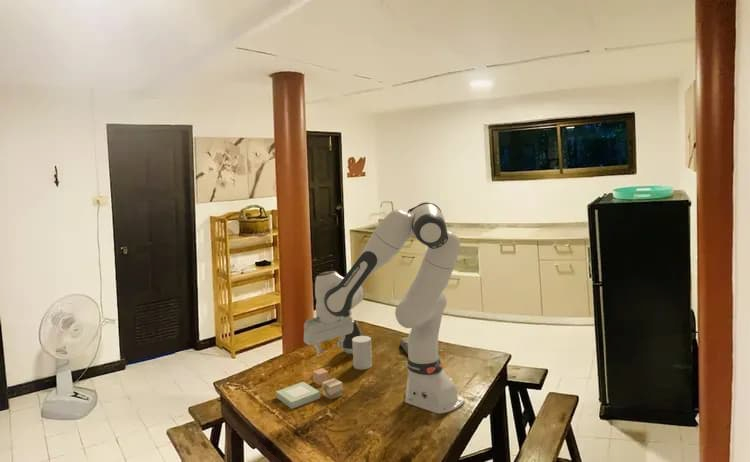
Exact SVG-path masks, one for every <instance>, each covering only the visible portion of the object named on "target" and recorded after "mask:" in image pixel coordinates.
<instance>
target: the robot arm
mask: <svg viewBox="0 0 750 462" xmlns="http://www.w3.org/2000/svg"><path fill="white" fill-rule="evenodd" d="M447 229H448V228H447V225H446V219H445V217H444V215H443V212H442V210H441V208H440V207H439V206H438V205H436V204H435V203H433V202H430V201H426V202H421V203H419V204H417V205H416V206H414V207H412V208H410V209H408V211H407V212H405V211H404V210H401V209H394V210H391V211H390V212H389V213H387V215H386V216H385V217H384V218H383V220H382V221H381V222H380V223H379V224H378V225H377V226H376V228H375V229H374V231H373V232H372V234H371V236H370V237H369V238H368V241H367V242H366V244H365V246H364V247H363V249H362V251H361V253H360V255H359V256H358V258H356V259H357V260H356V261H355V262H354V264H353V265H352V267H351V268H350V269H349V270H348V272H347V273H346V274H345V276H342V275H341V274H339V273H338V272H337V271H336V270H328V271H323V272H321V273H318V275H317V276H316V277H315V283H314V295H315V300H316V304H315V317H313V318H308V319H307V320H306V321H305V322H304V323H303V342H304V343H305V344H307V345H309V346H313V347H314V348H315V349H316V350H315V353H316V354H317V355H320V354H322V353H323V348H321V347H320V343H323V342H326V341H329V340H333V339H336V338H339V341H337V342H336V345H337V348H339V349H340V348H342V347H343V342H344V339H345V335H347V334H350V333H352V332H353V321H354V320H353V317H352V311H351V310H353V309H354V308H356V306H358V305H359V304H361V303H362V302H363V300H364V298H365V289H364V287H363V284H364V283H365V282H366V280H367V279H368V278H369V276H370V275H372V274H373V273H374V272H376V270H379V269H380V268H381V267H383V266H385V265H386V264H387V263H389V262H390V261H391V260H393V258H394V257H395V256H396V255H398V253H399V252H400V250H401V249H402V248H403V246H404V244H406V242H407V241H408V240H409V239H410V238H412V237H413V236H414V237H415V238H416V239H417V241H418V242H420V243H421V244H423V245H424V246H426V247H427V248H426V251H425V253H424V256H423V260H422V261H421V265H420V267H419V270H418V272H417V274H416V276H415V278H414V280H413V282H412V284H411V285H409V288H408V290H407V291H406V294H405V295H404V297H403V298H402V300H401V301H400V302H399V303H398V305H396V308H395V312H394V313H395V316H394V317H395V318H396V320H397V322H398V324H399V325H400V326H401V327H403V328H405V329H411V330H410V332H409V334H408V335H407V337H408V354H407V355H408V357H407V359H406V360H407V362H406V365H407V366H406V367H407V369H408V372H407V379H406V389H405V393H404V395H405V398H404V402H405V403H406V404H409V405H412V406H415V407H417V408H420V409H423V410H426V411H429V412H432V413H435V414H439V415H440V414H445V413H449V412H451V411H452V412H453V411H454V410H456V409H458V408H460V407H461V406H463V404H464V403H465V398H464V397H463V396H461V395H460V394H458V390H457V385H456V384H455V382H454V381H453V378H451V377H449V376H448V374H447V373H446V372H445V371H444V369H443V367H445V363H444V362H441V360H440V357H439V333H440V328H441V323H442V317H443V314H444V311H445V309H446V307H447V298H446V295H445V294H444V292H443V291H444V290H445V289H446V288H447V286H448V284H449V282H450V278H451V276H452V274H453V271H454V269H455V266H456V263H457V260H458V257H459V253H460V246H461V240H460V238H459V236H457V235H456V234H455V233H454V232H451V231H449V230H447Z"/></svg>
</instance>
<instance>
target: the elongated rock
mask: <svg viewBox="0 0 750 462" xmlns="http://www.w3.org/2000/svg"><path fill="white" fill-rule="evenodd" d="M399 344H400V346H401V347H402V349H403V351H404V352H405V353H406V354H407V355H408V336H406V337H402V338H401V339H400V340H399Z"/></svg>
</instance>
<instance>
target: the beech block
mask: <svg viewBox="0 0 750 462" xmlns="http://www.w3.org/2000/svg"><path fill="white" fill-rule="evenodd" d="M321 387H322V395H323V397H326V398H327V399H329V400H333V399H334V400H335V399H336V398H339V397H341V396H343V395H344V388H343V382H342V381H341V380H338V379H337V378H335V377H334V378H331V379H329V380H328V381H325V382H322V384H321Z"/></svg>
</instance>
